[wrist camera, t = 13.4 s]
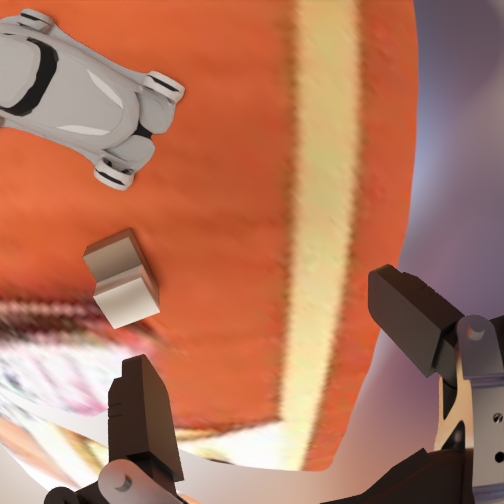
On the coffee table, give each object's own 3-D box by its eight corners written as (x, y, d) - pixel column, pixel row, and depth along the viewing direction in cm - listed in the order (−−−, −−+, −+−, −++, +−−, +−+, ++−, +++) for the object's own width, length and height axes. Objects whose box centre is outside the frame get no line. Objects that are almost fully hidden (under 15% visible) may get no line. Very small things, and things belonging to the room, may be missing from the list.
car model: (133, 193, 28) (128, 208, 24) (-49, 101, 17) (-75, 104, 13) (194, 89, 26) (200, 85, 21) (0, 3, 15) (-21, -9, 11)
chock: (158, 284, 33) (160, 311, 28) (118, 300, 32) (114, 329, 28) (130, 227, 29) (126, 248, 25) (87, 246, 29) (77, 269, 24)
